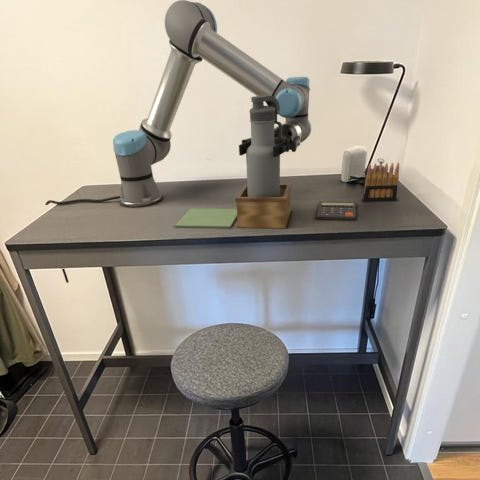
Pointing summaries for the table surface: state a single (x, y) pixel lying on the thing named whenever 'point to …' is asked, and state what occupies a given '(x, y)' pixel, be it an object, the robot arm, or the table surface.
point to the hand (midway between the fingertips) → (257, 151)
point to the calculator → (336, 210)
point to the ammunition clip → (381, 184)
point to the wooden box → (264, 209)
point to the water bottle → (263, 149)
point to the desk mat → (208, 218)
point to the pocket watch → (378, 169)
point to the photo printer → (353, 162)
